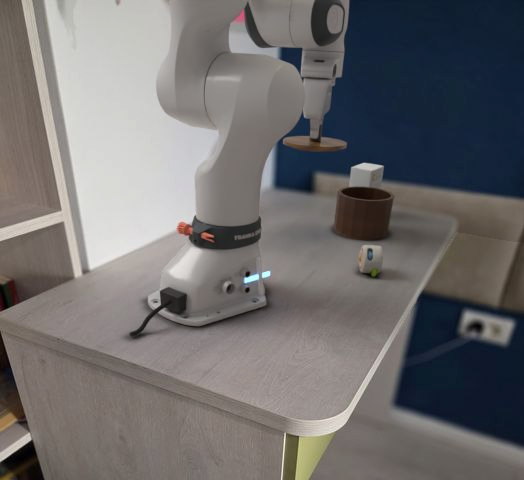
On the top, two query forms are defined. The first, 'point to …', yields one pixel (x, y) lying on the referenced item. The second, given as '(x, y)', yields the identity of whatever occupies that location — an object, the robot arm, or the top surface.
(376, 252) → the roller toy
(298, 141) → the lid
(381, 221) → the round wooden container
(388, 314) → the top surface
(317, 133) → the robot arm
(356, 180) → the small box
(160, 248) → the top surface
